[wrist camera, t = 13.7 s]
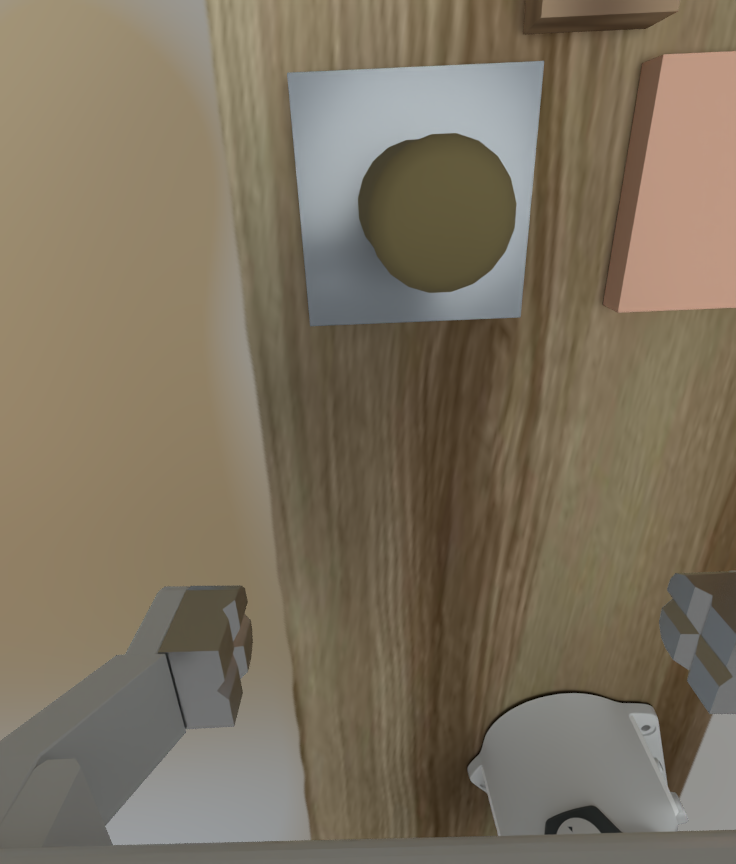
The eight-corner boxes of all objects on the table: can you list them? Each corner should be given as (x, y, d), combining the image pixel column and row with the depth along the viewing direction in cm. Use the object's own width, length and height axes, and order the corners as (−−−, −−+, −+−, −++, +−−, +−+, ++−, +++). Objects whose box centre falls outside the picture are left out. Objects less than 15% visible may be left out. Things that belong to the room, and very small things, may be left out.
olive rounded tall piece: (443, 112, 25) (498, 67, 15) (492, 229, 27) (568, 258, 17) (335, 180, 26) (320, 181, 16) (391, 286, 28) (408, 344, 18)
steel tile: (511, 309, 31) (520, 317, 29) (313, 317, 31) (310, 326, 29) (531, 69, 26) (544, 61, 24) (292, 80, 26) (286, 72, 24)
